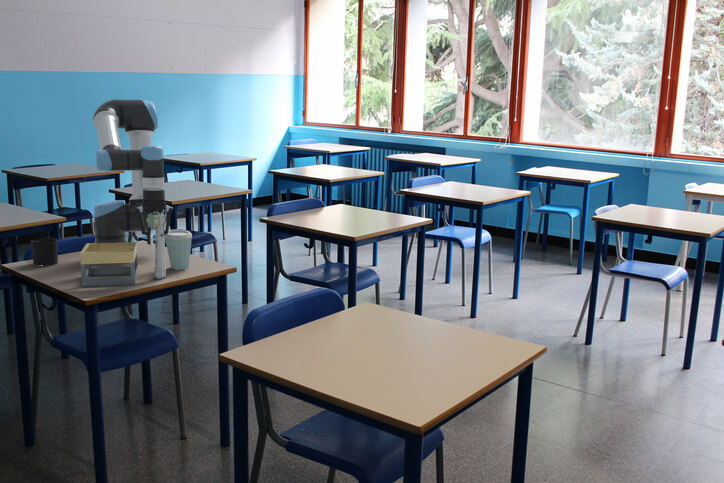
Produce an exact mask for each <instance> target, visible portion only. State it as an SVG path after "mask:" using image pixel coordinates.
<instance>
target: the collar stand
mask: <svg viewBox="0 0 724 483" xmlns="http://www.w3.org/2000/svg"><path fill="white" fill-rule="evenodd" d="M79 259H80V272H81V275H80V276H81V287H82V288H85V287H86V288H88V287H108V286H128V285H129V286H130V285H132V286H133V285H134V286H135V285H136V283H137V278H138V274H139V269H138V266H139V265H138V264H139V263H138V245H137V242H136V241H132V242H131V241H127V242H123V243H95V242H93V243H91V242H90V243H88V242H87V243H86V244H85V245H84V246H83V248H82V250H81V251H80V253H79ZM128 263H129V264H130V265H116V266H115V265H114V266H113V265H112V266H111V265H110V266H92V265H99V264H101V265H102V264H128ZM86 265H87V266H86ZM86 267H87V269H86Z"/></svg>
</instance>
